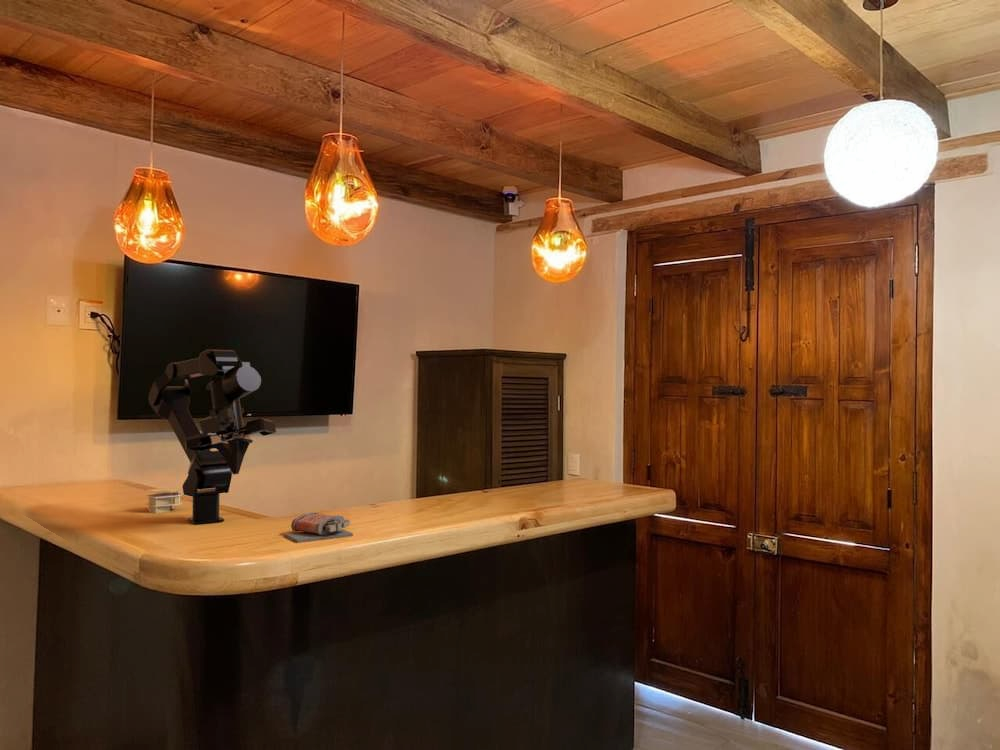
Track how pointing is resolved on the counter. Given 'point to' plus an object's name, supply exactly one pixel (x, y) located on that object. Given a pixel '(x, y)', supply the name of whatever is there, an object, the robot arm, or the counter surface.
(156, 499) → the stacked layers on plate
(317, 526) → the lighter
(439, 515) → the counter surface
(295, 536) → the mat
